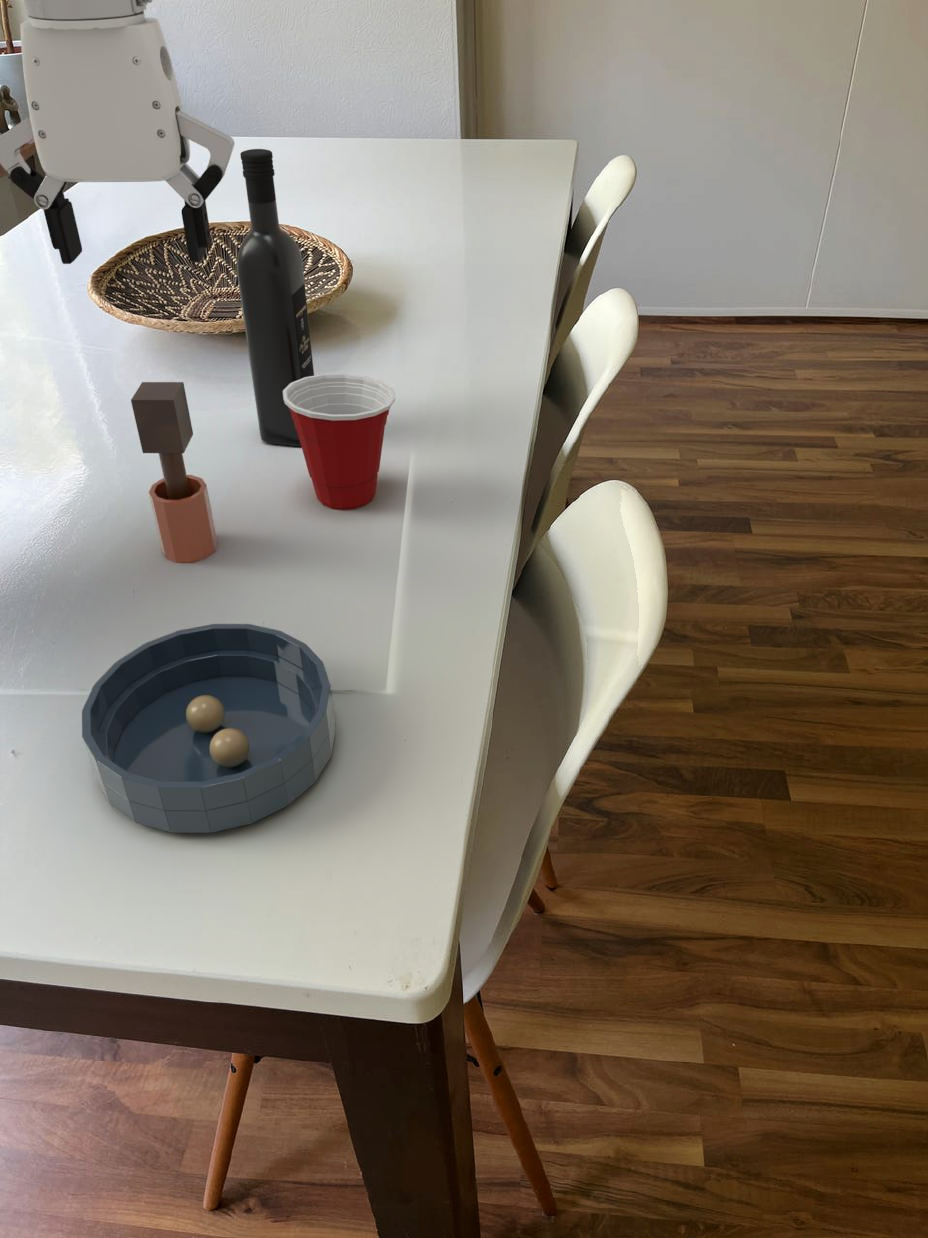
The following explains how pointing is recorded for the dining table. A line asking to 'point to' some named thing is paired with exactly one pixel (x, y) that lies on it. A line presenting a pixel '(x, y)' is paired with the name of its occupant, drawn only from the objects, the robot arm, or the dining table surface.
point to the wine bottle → (272, 303)
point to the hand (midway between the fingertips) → (135, 257)
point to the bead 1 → (205, 714)
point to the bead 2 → (229, 747)
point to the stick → (165, 430)
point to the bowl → (180, 756)
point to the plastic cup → (341, 434)
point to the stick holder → (184, 522)
